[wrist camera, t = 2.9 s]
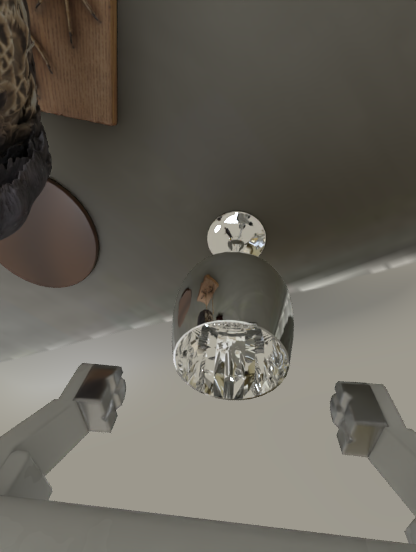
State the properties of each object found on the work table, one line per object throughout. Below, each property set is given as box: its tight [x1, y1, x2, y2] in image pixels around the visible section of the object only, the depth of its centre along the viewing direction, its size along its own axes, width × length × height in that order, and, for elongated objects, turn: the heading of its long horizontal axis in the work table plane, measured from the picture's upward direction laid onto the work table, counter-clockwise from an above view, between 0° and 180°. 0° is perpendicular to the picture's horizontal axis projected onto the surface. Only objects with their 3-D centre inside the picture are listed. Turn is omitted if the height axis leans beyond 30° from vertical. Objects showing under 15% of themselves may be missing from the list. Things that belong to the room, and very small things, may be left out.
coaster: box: [0, 178, 99, 288], centre depth 23 cm, size 10×10×1 cm
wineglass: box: [172, 211, 294, 400], centre depth 16 cm, size 6×6×12 cm
